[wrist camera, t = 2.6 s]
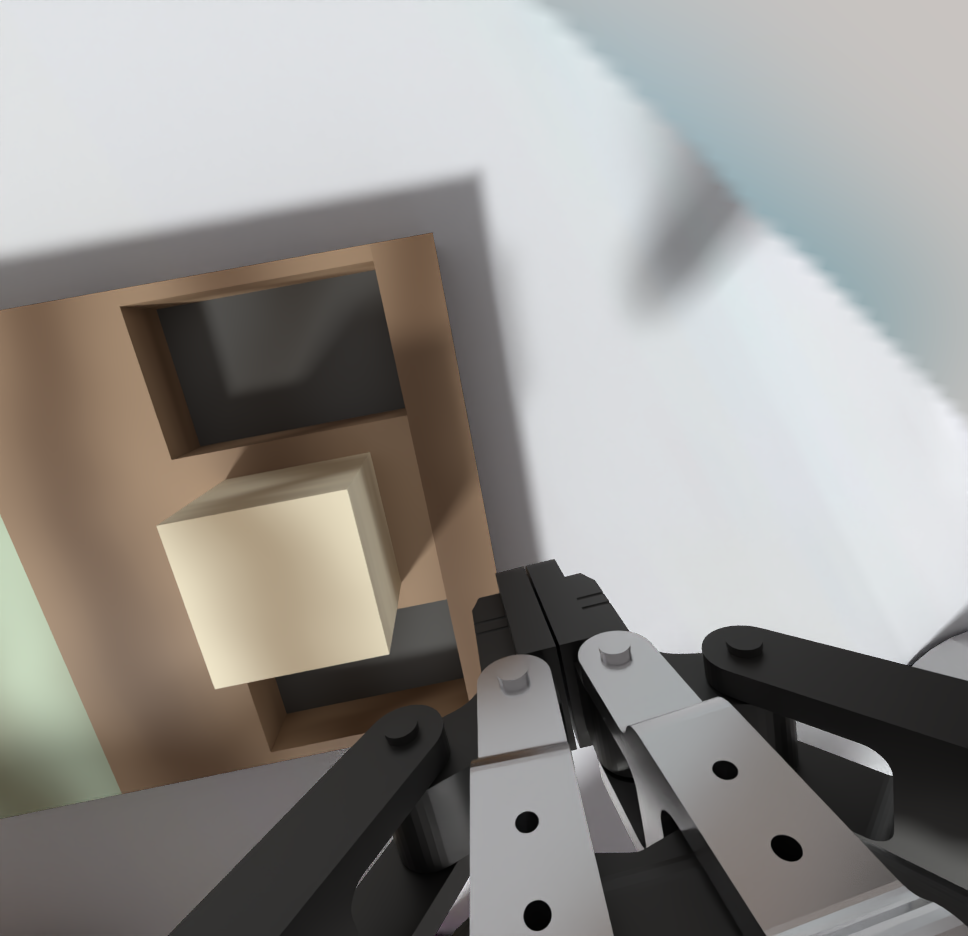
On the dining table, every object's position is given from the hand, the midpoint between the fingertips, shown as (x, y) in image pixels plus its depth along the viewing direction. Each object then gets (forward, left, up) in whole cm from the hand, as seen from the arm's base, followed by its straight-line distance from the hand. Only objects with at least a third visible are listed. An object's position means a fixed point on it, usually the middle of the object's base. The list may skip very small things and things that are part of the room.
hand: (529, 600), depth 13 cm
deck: (+13, -1, -9) cm, 15 cm away
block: (+7, -1, -6) cm, 9 cm away
